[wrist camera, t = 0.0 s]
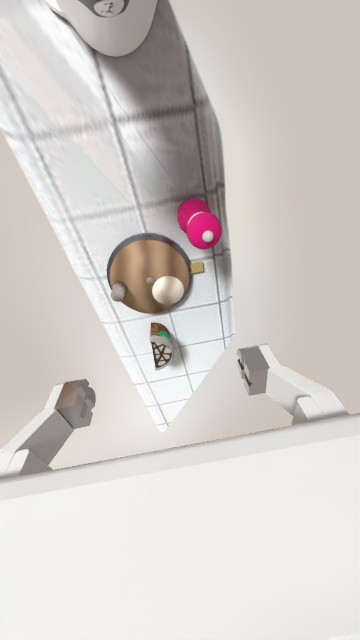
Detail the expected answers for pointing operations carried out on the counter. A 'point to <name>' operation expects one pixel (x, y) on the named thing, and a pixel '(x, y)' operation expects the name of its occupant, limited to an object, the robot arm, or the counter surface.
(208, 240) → the pepper mill
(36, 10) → the counter surface
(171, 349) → the food container
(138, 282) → the turntable
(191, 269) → the base
